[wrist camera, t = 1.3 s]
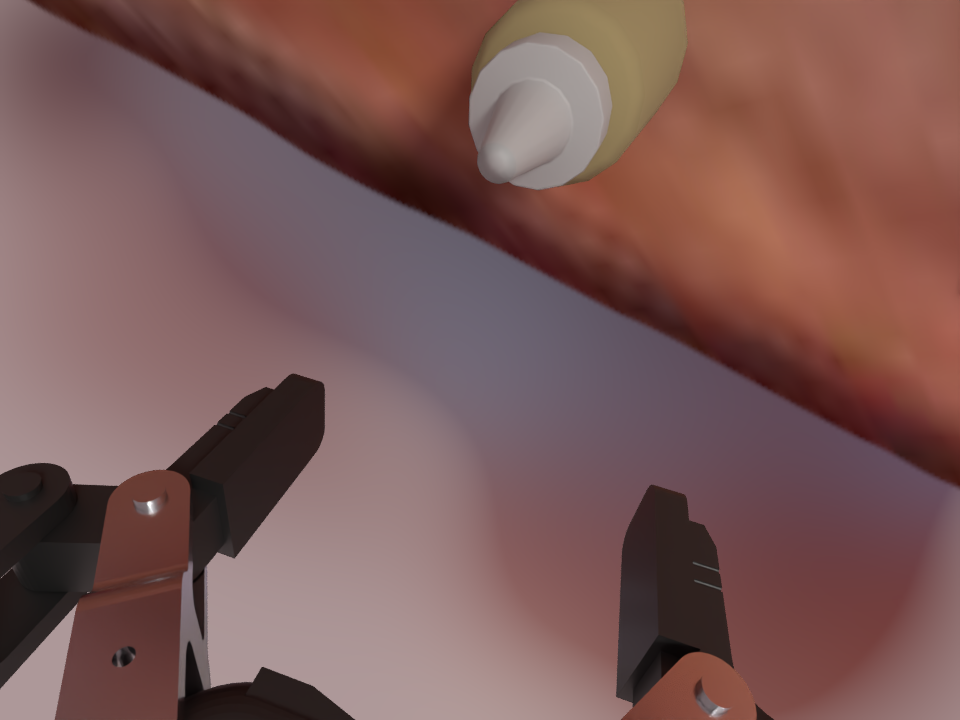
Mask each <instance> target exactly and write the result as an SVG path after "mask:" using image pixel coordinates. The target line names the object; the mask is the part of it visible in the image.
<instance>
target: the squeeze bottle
mask: <svg viewBox="0 0 960 720" xmlns="http://www.w3.org/2000/svg"><path fill="white" fill-rule="evenodd" d="M687 44H688V41H687V30H686V20H685V10H684V2H683V0H518V1H517V2H516V3H515V4H514V5H513V6H512V7H511V8H510V9H509V10H508V11H507V12H506V13H505V14H504V15H503V16H502V17H501V18H500V19H499V20H498V21H497V23H496V24H495V25H494V26H493V27H492V28H491V29H490V30H489V31H488V32H487V33H486V34H485V37H484V39H483V42H482V44H481V47H480V49H479V52H478V54H477V57H476V59H475V62H474V64H473V67H472V80H471V94H470V97H469V127H470V130H471V133H472V137H473V140H474V143H475V146H476V149H477V151H478V153H479V154H478V159H477V165H478V168H479V171H480V173H481V174H482V175H483V176H484V178H485V179H487V180H489V181H490V182H492V183H497V184H501V183H506V182H510V183H511V184H513V185H515V186H520V187H525V188H530V189H535V190H542V189H547V188H553V187H559V186H564V185H569V184H574V183H579V182H584V181H589V180H590V179H592V178H593V177H595V176H596V175H598V174H599V173H601V172H602V171H604V170H605V169H607V168H608V167H610V166H611V165H613V164H614V163H616V162H617V160H618V159H619V158H620V157H621V155H622V154H623V153H624V152H625V150H626V149H627V148H628V147H629V145H630V144H631V143H632V142H633V140H634V139H635V138H636V137H637V136H638V134H639V133H640V132H641V131H642V129H643V128H644V127H645V126H646V124H647V123H648V122H649V121H650V119H651V118H652V117H653V116H654V114H655V113H656V112H657V110H658V109H659V107H660V106H661V105H662V103H663V102H664V100H665V99H666V97H667V96H668V95H669V93H670V92H671V90H672V89H673V87H674V86H675V84H676V83H677V81H678V77H679V74H680V70H681V66H682V63H683V59H684V55H685V51H686V48H687Z"/></svg>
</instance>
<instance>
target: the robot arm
mask: <svg viewBox="0 0 960 720" xmlns="http://www.w3.org/2000/svg"><path fill="white" fill-rule="evenodd" d="M324 429H325V389H324V384H323V383H322V382H320V381H316V380H313V379H310V378H307V377H303V376H300V375H297V374H291V375H289V376H288V377H287V378H286V379H284V381H282V382H281V384H279V385H278V386H277V387H276V388H275V389H274V390H273V389H270V388H267V387H265V388H263V389H261V390H258V391H256V392H254V393H252V394H250V395H248V396H246V397H244V398H243V399H242V400H241V401H240V402H239V403H238V404H237V405H236V406H234V408H232V409H231V410H230V413H229V414H226V415H225V416H224V417H223V418H222V419H221V420H219V421H218V423H217V425H214V426H213V427H212V428H211V429H210V430H209V431H208V432H207V433H205V434H204V435H203V436H202V437H201V438H200V439H199V440H198V441H197V442H196V443H195V444H194V445H193V446H191V447H190V448H189V449H188V450H187V451H186V452H185V453H184V454H183V455H182V456H181V457H180V458H179V459H177V460H176V461H175V462H174V463H173V464H172V465H171V466H170V467H169V468H167V469H166V470H153V471H148V472H144V473H141V474H138V475H136V476H133V477H131V478H129V479H128V480H126V481H124V482H123V483H122V484H120V485H119V486H103V485H78V484H76V485H75V484H72V481H71V479H70V476H69V474H68V472H67V471H66V470H65V469H64V468H62V467H60V466H58V465H55V464H49V463H37V464H36V463H35V464H29V465H25V466H21V467H17V468H14V469H12V470H9V471H7V472H5V473H3V474H1V475H0V578H1V577H2V576H3V575H4V574H5V573H6V572H7V573H6V574H5V575H4V576H3V577H2V578H1V579H0V688H1V687H2V686H3V685H4V684H5V683H6V682H7V681H8V679H9V678H10V677H11V676H12V675H13V674H14V673H15V672H16V671H17V670H18V668H19V667H20V666H21V665H22V664H23V663H24V662H25V661H26V660H27V658H28V657H29V656H30V655H31V654H32V653H33V652H34V651H35V650H36V648H37V647H38V646H39V645H40V644H41V643H42V642H43V641H44V640H45V639H46V637H47V636H48V635H49V634H50V633H51V632H52V631H53V630H54V629H55V627H56V626H57V625H58V624H59V623H60V622H61V621H62V620H63V619H64V617H65V616H66V615H67V614H68V613H69V612H70V611H71V610H72V609H73V608H74V606H75V605H76V604H77V603H78V604H77V608H76V612H75V617H74V622H73V627H72V633H71V638H70V643H69V649H68V653H67V659H66V664H65V670H64V674H63V680H62V685H61V690H60V695H59V701H58V706H57V711H56V716H55V720H355V719H353V718H352V717H351V716H350V715H348V714H347V713H346V712H345V711H343V710H342V709H341V708H340V707H338V706H337V705H336V704H335V703H333V702H332V701H331V700H330V699H328V698H327V697H326V696H325V695H323V694H322V693H321V692H320V691H318V690H317V689H316V688H315V687H313V686H311V685H309V684H306V683H304V682H301V681H298V680H296V679H293V678H290V677H288V676H285V675H283V674H280V673H277V672H275V671H272V670H270V669H267V668H264V667H262V668H261V669H260V671H259V673H258V675H257V676H256V678H255V680H254V681H253V682H242V683H230V684H226V685H220V686H216V687H213V688H211V679H210V668H209V660H208V616H207V615H208V612H207V611H208V609H207V608H208V605H207V604H208V603H207V564H208V563H209V562H210V560H211V559H212V558H213V557H214V556H215V555H216V553H217V552H218V553H221V554H224V555H227V556H229V557H232V558H235V557H236V556H237V554H238V553H239V552H240V551H241V549H242V548H243V547H244V546H245V544H246V543H247V542H248V540H249V539H250V538H251V536H252V535H253V534H254V533H255V531H256V530H257V529H258V527H259V526H260V525H261V523H262V522H263V521H264V520H265V518H266V517H267V516H268V514H269V513H270V512H271V510H272V509H273V508H274V506H275V505H276V504H277V502H278V501H279V500H280V499H281V497H282V496H283V495H284V494H285V492H286V491H287V490H288V488H289V487H290V485H291V484H292V483H293V482H294V481H295V479H296V478H297V477H298V475H299V474H300V473H301V471H302V470H303V469H304V468H305V466H306V465H307V464H308V462H309V461H310V460H311V458H312V457H313V456H314V454H315V453H316V452H317V450H318V448H319V446H320V444H321V441H322V439H323V435H324ZM687 506H688V505H687V498H686V496H685V495H684V494H681V493H678V492H675V491H671V490H668V489H665V488H662V487H658V486H655V485H650V486H649V488H648V489H647V491H646V493H645V495H644V497H643V499H642V501H641V503H640V505H639V507H638V509H637V511H636V513H635V515H634V517H633V519H632V521H631V522H630V524H629V527H628V529H627V532H626V535H625V538H624V543H623V548H622V564H621V590H620V615H619V640H618V665H617V691H616V697H618V698H621V699H623V700H627V701H629V702H632V703H633V708H632V709H631V710H630V711H629V712H628V713H627V714H626V715H625V716H624V717H623V718H622V719H621V720H774V719H772V718H771V717H770V716H769V715H767V714H766V713H765V712H764V711H763V710H761V709H760V708H759V707H758V706H757V705H756V704H755V702H754V699H753V696H752V694H751V692H750V690H749V688H748V686H747V685H746V683H745V681H744V680H743V679H742V677H741V676H740V675H739V674H738V673H737V672H736V671H735V669H734V666H733V662H732V656H731V649H730V642H729V634H728V627H727V620H726V614H725V606H724V599H723V593H722V592H721V588H722V585H721V578H720V574H719V563H718V557H717V549H716V546H715V544H714V542H713V541H712V539H711V537H710V535H709V533H708V532H707V530H706V528H705V526H704V525H702V524H698V523H696V522H692V521H689V518H688V517H689V516H688V507H687ZM11 568H12V569H11ZM10 569H11V570H10ZM9 570H10V571H9ZM87 592H89V593H87Z"/></svg>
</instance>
